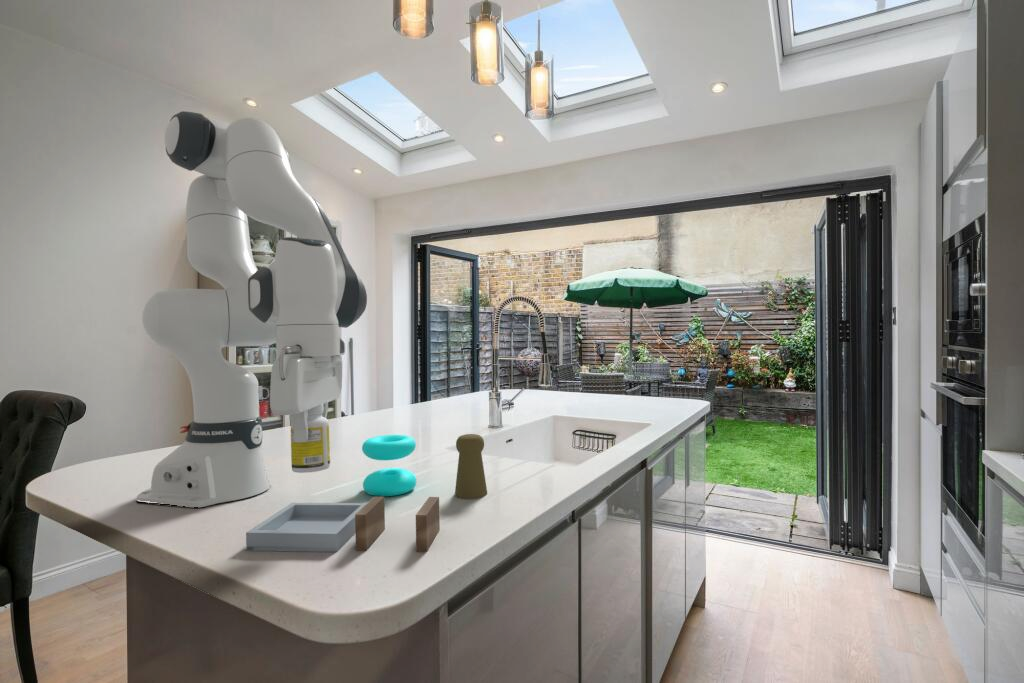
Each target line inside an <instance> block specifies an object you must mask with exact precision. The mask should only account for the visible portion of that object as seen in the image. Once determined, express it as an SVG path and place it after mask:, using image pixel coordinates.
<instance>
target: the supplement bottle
mask: <svg viewBox="0 0 1024 683" xmlns="http://www.w3.org/2000/svg"><path fill="white" fill-rule="evenodd" d="M323 411H324V409H323V404H321V405H319V406H317V407H315V408H312V409H310V410H308V417H307V424H308V428H310V439H309V440H307V441H306V442H295V440H294V430H293V427H292V425H291V424H290V456H291V457H290V458H291V459H290V460H291V470H292V472H294V473H298V474H299V473H300V474H302V473H307V474H308V473H316V472H317V473H318V472H320V471H324V470H327V469H329V468H330V466H331V456H330V455H331V453H330V450H331V449H330V448H331V446H330V444H331V443H330V422H329V420H328V419H327V417H326V418H324V417H322V413H323Z"/></svg>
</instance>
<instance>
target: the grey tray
mask: <svg viewBox="0 0 1024 683" xmlns="http://www.w3.org/2000/svg"><path fill="white" fill-rule="evenodd" d="M367 503H368V502H365V503H364V502H291V503H289V504H288V505H286V506H285V507H284V508H282V509H280V510H279V511H278V512H275V513H274V514H272V515H271V516H270V517H268V518H266V519H264V521H262V522H260V523H258V524H257V525H256V526H254V527H252V528H251V529H249V530H248V531H246V533H245V539H246V540H245V541H246V542H245V545H246V546H245V547H246V551H248V552H249V551H253V552H255V551H258V552H321V553H322V552H326V553H327V552H330V553H331V552H332V553H338V551H340V549H341V548H342V547H343V546H344V545H345V544H346V543H347V542H348V541H349V540H350V539H351V538H353V536H355V535H356V532H355V514H356V513H357V512H358V511H360V510H361V509H362V508H363V507H364V506H365V505H366V504H367Z"/></svg>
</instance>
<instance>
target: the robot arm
mask: <svg viewBox="0 0 1024 683" xmlns="http://www.w3.org/2000/svg"><path fill="white" fill-rule="evenodd" d="M164 145H165V151H166V155H167V156H168V158H169V159H170V161H171V163H173V164H175V165H176V166H179V167H181V168H182V169H185V170H187V171H190V172H192V171H194V172H197V173H199V174H201V175H200V176H197V177H196V178H194V179H193V180H192V182H191V183H190V185H189V187H188V192H187V198H186V205H185V231H186V233H185V234H186V251H187V259H188V261H189V264H190V266H191V267H193V269H194V270H195V271H196V272H198V273H199V274H201V275H202V276H204V277H207V279H210V280H213V281H215V282H216V283H218V284H219V285H220V286H221V287H222V288H223V289H214V288H213V289H212V288H211V289H210V288H208V289H207V288H179V289H177V288H176V289H171V290H169V289H168V290H166V291H165V290H164V291H158V292H156V293H154V294H152V295H151V297H149V299H148V300H147V302H146V303H145V305H144V307H143V310H142V318H141V319H142V324H143V328H144V330H145V332H146V334H147V335H148V337H149V339H151V340H152V341H153V342H154V343H156V345H157V344H158V345H159V346H161V347H163V348H164V349H165V350H167V351H168V352H170V353H171V354H172V355H173V356H174V357H175V358H176V359H177V360H178V362H180V364H181V365H182V367H183V368H184V369H185V372H186V374H187V376H188V379H189V382H190V386H191V387H190V388H191V394H192V402H193V421H191V422H190V423H188V425H183V426H181V427H179V429H182V430H181V431H179V433H180V434H184V433H187V434H186V436H185V438H184V440H185V441H184V442H183V443H182V444H181V445H179V446H177V448H176V449H174V450H173V451H172V452H170V453H169V454H168V455H167V456H165V457H164V458H162V459H161V460H160V461H159V462H158V463H157V464H156V465H155V467H154V469H153V471H152V477H151V480H150V481H151V485H150V488H147V489H145V490H144V491H142V492H140V493H139V494H137V496H136V499H135V501H136V500H140V501H150V502H157V503H163V504H170V505H169V506H171V505H177V506H176V507H183V506H185V507H184V508H194V507H198V508H203V507H209V506H212V505H216V504H221V503H226V502H232V501H238V500H242V499H246V498H250V497H253V496H257V495H259V494H262V493H263V492H266V491H268V490H269V489H270V488H271V484H270V481H269V477H268V475H267V472H266V467H265V462H264V457H263V451H262V450H263V449H262V444H263V418H262V416H261V415H260V396H259V393H260V392H259V390H260V389H259V386H260V385H259V380H258V378H257V376H256V375H255V374H254V372H252V370H249V369H248V368H245V367H243V366H242V365H238V364H236V363H233V362H230V361H228V360H227V359H225V357H224V356H223V352H222V349H223V348H226V347H262V346H268V345H273V344H275V350H276V351H275V352H276V354H275V355H276V358H277V359H276V360H274V362H273V363H272V366H271V371H270V391H269V392H270V393H269V407H270V410H271V412H272V414H273V415H274V416H289V417H288V418H289V421H290V426H291V425H292V427H293V430H294V440H295V442H306V441H307V440H309V439H310V428H308V424H307V417H308V410H310V409H312V408H315V407H317V406H319V405H321V404H323V409H324V411H323V413H322V417H324V418H326V419H327V417H328V416H327V415H328V411H329V403H330V402H333V401H335V400H338V399H339V398H340V396H341V394H342V387H343V386H342V385H343V358H342V356H343V355H345V354H346V343H345V341H344V340H343V339H342V338H341V334H340V331H339V330H340V328H349V327H350V326H351V325H353V324H354V323H356V322H357V321H358V320H359V319H360V318H361V317H362V315H363V314H364V313H365V311H366V307H367V305H368V294H367V290H366V286H365V284H364V282H363V280H362V279H361V278H360V276H359V275H358V273H357V272H356V271H355V269H354V268H353V266H352V265H351V263H350V261H349V259H348V256H347V255H346V253H345V250H344V249H343V246H342V245H341V242H340V240H339V239H338V236H337V234H336V232H335V230H334V228H333V226H332V223H331V221H330V219H329V217H328V216H327V214H326V212H325V210H324V209H323V207H322V205H321V204H320V203H319V202H318V201H317V200H316V199H315V198H314V197H312V196H311V195H310V194H309V193H308V192H307V190H305V189H304V187H302V185H301V184H300V183H299V182H298V180H297V179H296V177H295V175H294V172H293V171H292V170H293V169H292V167H291V164H290V163H291V162H290V161H291V160H290V155H289V153H288V150H287V148H286V147H285V146H284V145H283V142H282V141H281V139H280V137H279V136H278V133H277V132H276V131H275V129H274V128H273V127H272V126H271V125H270V124H269V123H267V122H265V121H263V120H260V119H258V118H255V117H243V118H239V119H236V120H234V121H233V122H231V123H230V122H227V121H223V120H221V119H216V118H212V117H209V116H204V115H203V114H202V113H200V112H195V111H194V112H193V111H179V112H178V113H176V114H174V115H173V116H171V118H170V120H169V122H168V123H167V126H166V128H165V131H164ZM248 217H249V218H251V219H253V220H254V221H257V222H260V223H261V224H264V225H265V224H266V225H268V226H270V227H271V226H272V227H274V228H277V229H280V230H283V231H284V232H287V233H288V234H291V235H293V236H295V237H293V236H289V237H288V236H287V237H286V236H285V237H283V238H280V239H279V240H278V241H277V244H276V250H275V256H274V258H273V260H272V261H271V262H270V263H269V264H268V265H267V266H262V267H260V268H259V269H258V266H256V263H255V260H254V256H253V251H252V245H251V238H250V237H251V236H250V228H249V219H248Z"/></svg>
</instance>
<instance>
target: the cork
mask: <svg viewBox="0 0 1024 683" xmlns="http://www.w3.org/2000/svg"><path fill="white" fill-rule="evenodd" d="M455 447H456V450H457V452H458V463H457V472H456V480H455V488H454V496H455V497H456V498H459V499H464V500H465V499H466V500H474V499H475V500H476V499H481V498H483V497H486V496H487V495H488V489H487V481H486V475H485V468H484V467H485V466H484V461H483V455H482V452H483V450H484V447H485V440H484V438H483V436H482V435H480V434H477V433H466V434H462V435H459V436H458V437H457V439H456V441H455Z"/></svg>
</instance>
